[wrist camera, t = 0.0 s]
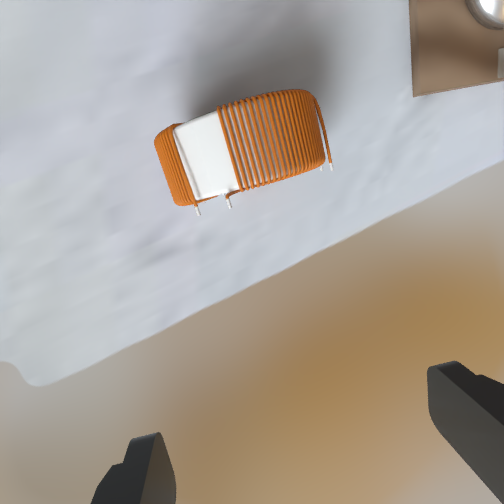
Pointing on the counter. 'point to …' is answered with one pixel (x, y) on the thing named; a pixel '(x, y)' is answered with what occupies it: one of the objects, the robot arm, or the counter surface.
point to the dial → (487, 13)
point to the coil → (242, 146)
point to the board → (452, 48)
